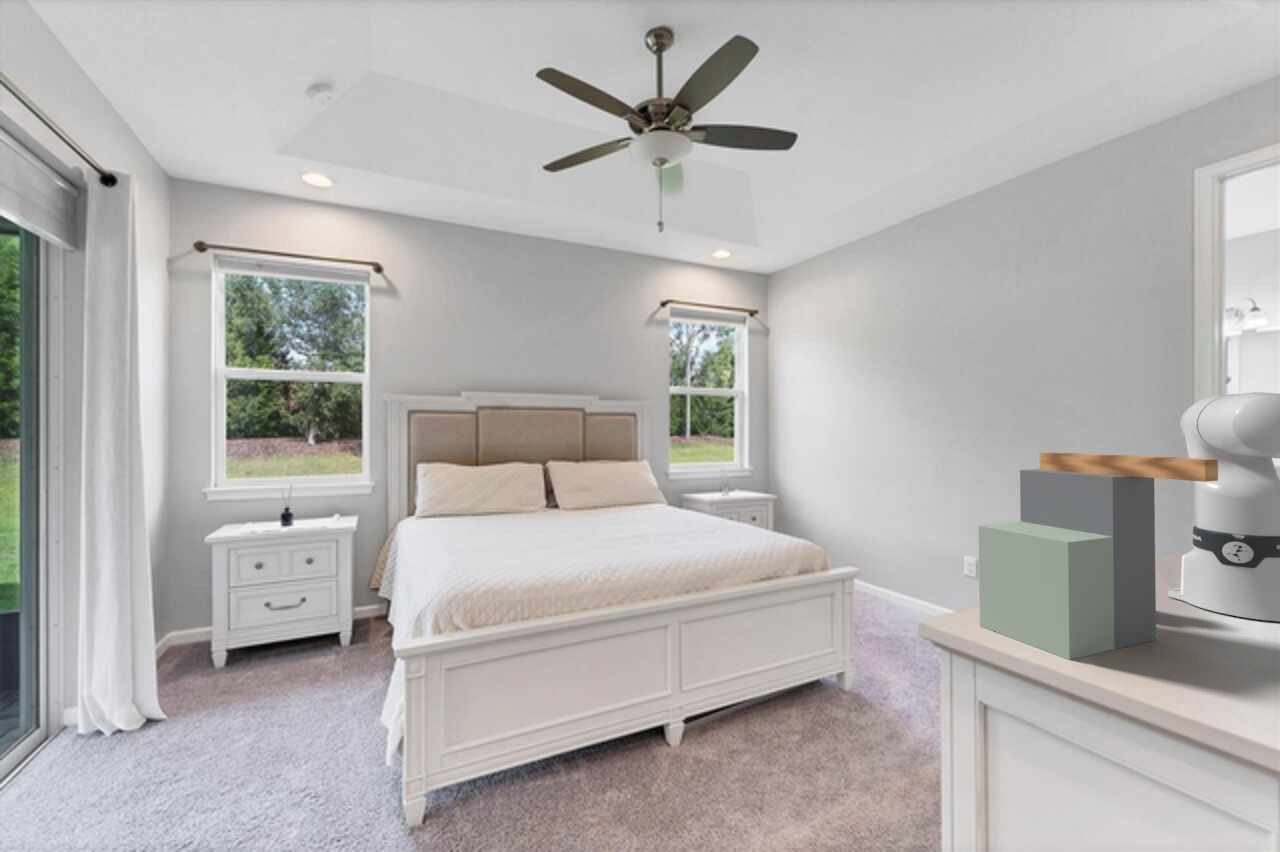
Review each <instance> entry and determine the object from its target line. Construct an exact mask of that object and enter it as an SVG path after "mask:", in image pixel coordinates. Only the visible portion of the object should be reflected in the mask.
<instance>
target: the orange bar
mask: <svg viewBox="0 0 1280 852" xmlns="http://www.w3.org/2000/svg"><path fill="white" fill-rule="evenodd" d="M1039 469H1040V470H1049V471H1063V472H1077V473H1091V474H1105V475H1119V476H1133V477H1147V478H1154V479H1161V480H1162V479H1163V480H1174V481H1176V480H1178V481H1190V482H1191V481H1192V482H1195V481H1202V482H1208V481H1218V459H1203V458H1189V457H1177V456H1176V457H1175V456H1156V455H1155V456H1152V455H1151V456H1150V455H1148V456H1147V455H1127V454H1107V453H1106V454H1105V453H1104V454H1103V453H1083V452H1082V453H1079V452H1056V451H1055V452H1050V451H1049V452H1048V451H1047V452H1039Z"/></svg>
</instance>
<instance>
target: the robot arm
mask: <svg viewBox="0 0 1280 852" xmlns="http://www.w3.org/2000/svg"><path fill="white" fill-rule="evenodd" d="M1179 427H1180V431H1181V433H1182V434H1183V437H1184V439H1185V444H1186V448H1187V454H1188V458H1203V459H1218V481H1208V482H1202V481H1194V488H1195V489H1194V490H1195V525H1194V526H1193V527H1192V533H1191V538H1192V545H1193V546H1194V547H1193V548H1192V549H1191V550H1190V551H1188V552H1186V553H1185V554H1183V555H1182V556H1181V572H1180V573H1181V575H1180V576H1181V578H1180V581H1181V582H1180V586H1178V587H1175V588H1173V589H1169V590H1168V592H1167V596H1168V597H1169V598H1172V599H1173V598H1174V599H1177V600H1179V601H1184V602H1185V603H1187V604H1190V605H1192V606H1195V607H1197V608H1202V609H1204V610H1208V611H1212V612H1215V613H1219V614H1225V615H1230V616H1235V617H1240V618H1241V617H1242V618H1245V619H1252V620H1262V621H1267V622H1269V621H1270V622H1271V621H1272V622H1280V478H1279V475H1278V473H1277V469H1276V467H1275V465H1274V461H1273V459H1280V393H1273V392H1262V391H1261V392H1260V391H1259V392H1257V391H1256V392H1246V393H1245V392H1244V393H1233V394H1232V393H1231V394H1221V395H1213V396H1208V397H1205V398H1203V399H1201V400H1198V401H1197V402H1195V403H1194V404H1192V405H1190V407H1188V408H1187V409H1186V410H1185V411H1184V412H1183V414H1182V415H1181V418H1180V421H1179Z"/></svg>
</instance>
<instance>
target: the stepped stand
mask: <svg viewBox="0 0 1280 852" xmlns="http://www.w3.org/2000/svg"><path fill="white" fill-rule="evenodd" d="M1019 482H1020V483H1019V486H1020V487H1019V488H1020V489H1019V491H1020V493H1019V495H1020V496H1019V497H1020V498H1019V500H1020V501H1019V502H1020V503H1019V504H1020V511H1019V512H1020V521H1013V522H1003V523H1001V522H1000V523H995V524H994V523H992V524H982V525H978V565H979V566H978V571H979V574H978V575H979V577H978V578H979V579H978V584H979V585H978V586H979V592H978V593H979V627H981V628H984V627H985V628H984V629H986V628H987V630H989V629H990V630H989V631H992V630H993V631H992V632H994V631H996V632H995V633H997V632H998V633H997V634H1000V635H1002V634H1003V636H1005V635H1006V637H1008V638H1010V639H1014V640H1016V641H1018V642H1021V643H1024V644H1026V645H1028V646H1029V645H1030V646H1032V647H1034V648H1036V649H1040V650H1043V651H1045V652H1048V653H1051V654H1054V655H1055V656H1059V657H1060V658H1064V659H1067V660H1074V659H1078V658H1082V657H1087V656H1090V655H1096V654H1100V653H1104V652H1111V651H1113V650H1117V649H1122V648H1127V647H1130V646H1135V645H1138V644H1143V643H1148V642H1153V641H1156V640H1157V612H1156V609H1157V605H1156V601H1157V600H1156V596H1157V595H1156V590H1157V589H1156V527H1155V526H1156V523H1155V521H1156V519H1155V518H1156V517H1155V478H1147V477H1133V476H1119V475H1105V474H1091V473H1077V472H1063V471H1049V470H1040V468H1037V469H1036V468H1035V469H1020V470H1019Z"/></svg>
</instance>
